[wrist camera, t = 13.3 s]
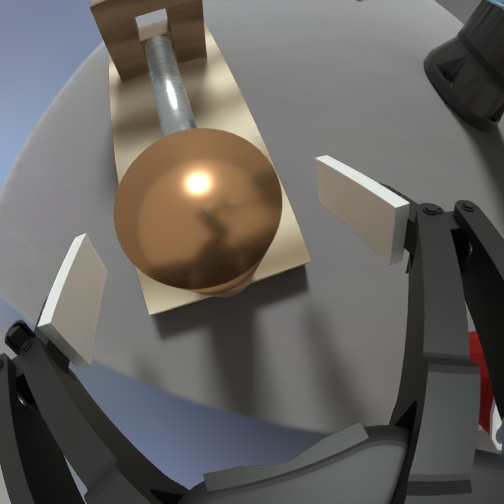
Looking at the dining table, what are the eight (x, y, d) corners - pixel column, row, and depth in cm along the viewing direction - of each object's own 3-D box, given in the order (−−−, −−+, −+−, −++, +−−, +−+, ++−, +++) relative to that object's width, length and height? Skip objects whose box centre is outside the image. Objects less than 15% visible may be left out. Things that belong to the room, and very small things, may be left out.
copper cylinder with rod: (147, 92, 20) (110, -15, 8) (189, 78, 21) (171, -33, 9) (203, 305, 17) (135, 311, 6) (262, 286, 18) (308, 254, 6)
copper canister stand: (113, 55, 25) (85, -15, 13) (202, 28, 26) (196, -49, 14) (157, 313, 20) (62, 323, 8) (305, 264, 21) (384, 216, 9)
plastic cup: (421, 300, 21) (526, 291, 9) (485, 317, 21) (568, 313, 9) (390, 415, 19) (475, 467, 7) (461, 411, 19) (536, 438, 7)
